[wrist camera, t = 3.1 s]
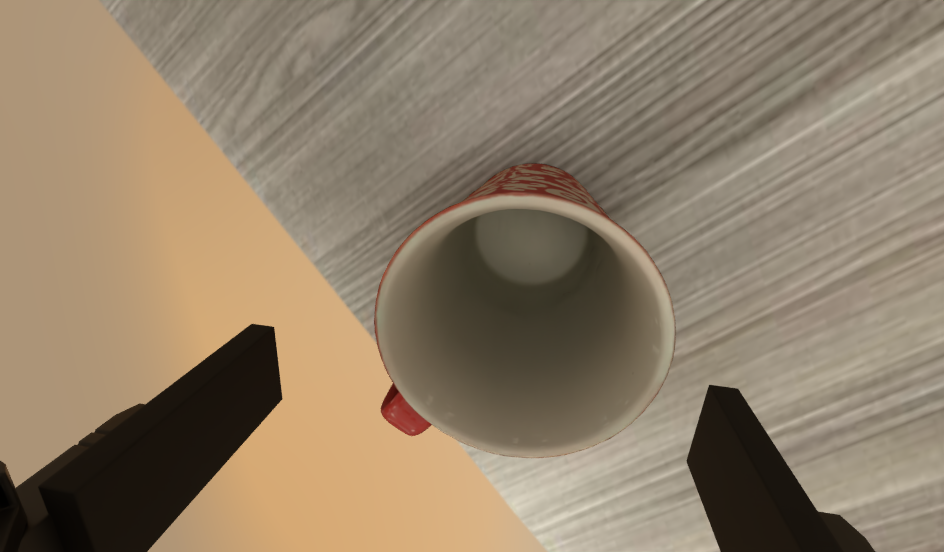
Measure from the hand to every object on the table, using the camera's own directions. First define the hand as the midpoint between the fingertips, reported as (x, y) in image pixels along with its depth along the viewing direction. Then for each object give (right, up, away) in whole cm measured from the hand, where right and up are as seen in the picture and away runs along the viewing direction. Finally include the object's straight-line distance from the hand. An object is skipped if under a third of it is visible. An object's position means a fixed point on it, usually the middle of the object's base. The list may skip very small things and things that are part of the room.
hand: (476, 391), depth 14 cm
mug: (+2, +5, +13) cm, 14 cm away
